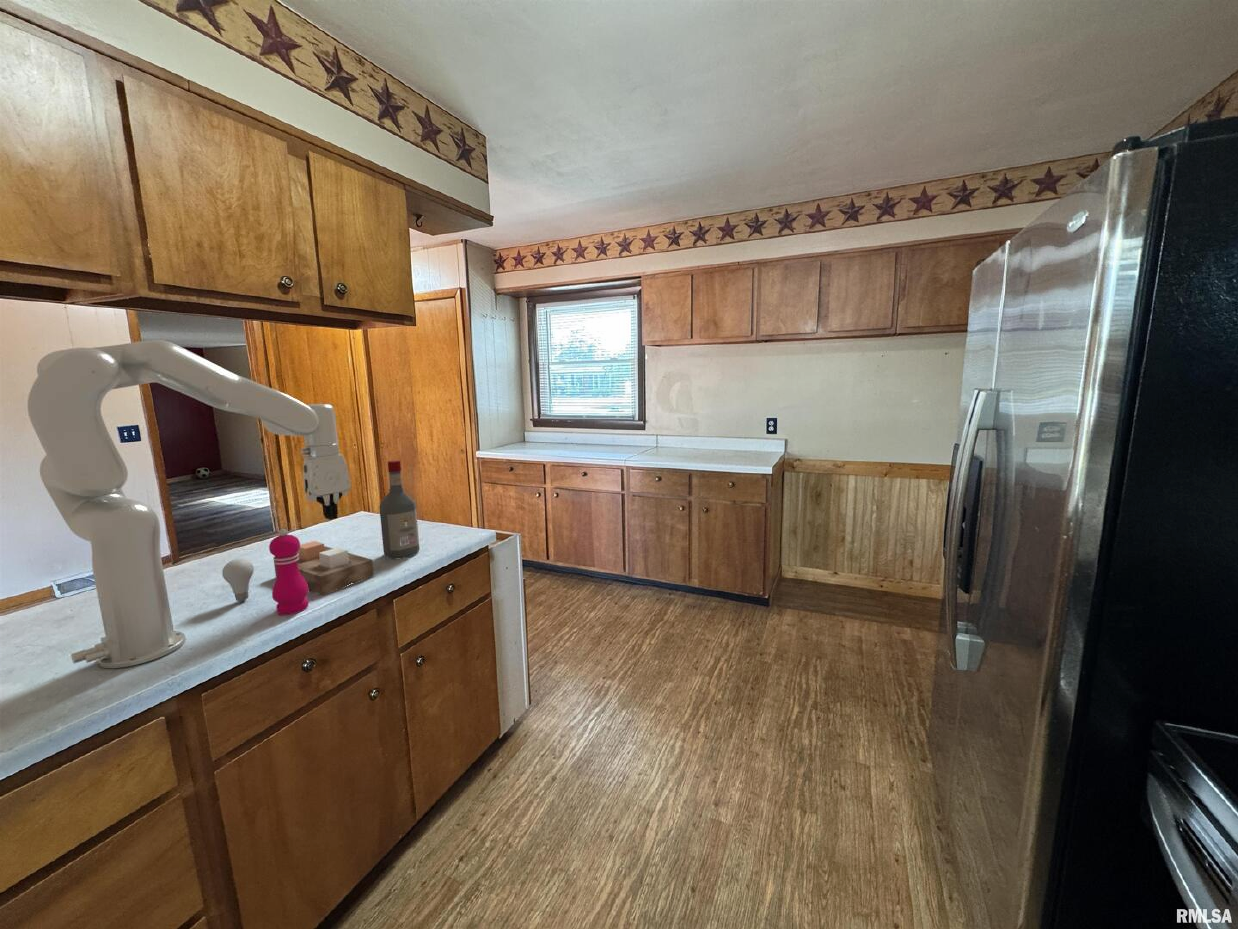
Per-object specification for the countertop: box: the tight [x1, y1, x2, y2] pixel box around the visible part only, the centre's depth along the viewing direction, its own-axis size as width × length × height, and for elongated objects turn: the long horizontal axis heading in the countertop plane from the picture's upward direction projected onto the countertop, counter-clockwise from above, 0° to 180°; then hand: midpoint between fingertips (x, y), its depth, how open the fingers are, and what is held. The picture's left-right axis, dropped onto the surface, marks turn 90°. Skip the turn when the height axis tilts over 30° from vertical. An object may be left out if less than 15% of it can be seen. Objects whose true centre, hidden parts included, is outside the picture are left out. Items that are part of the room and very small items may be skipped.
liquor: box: [378, 460, 421, 559], centre depth 152 cm, size 9×9×30 cm
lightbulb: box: [221, 558, 254, 603], centre depth 120 cm, size 6×6×11 cm
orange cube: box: [297, 540, 325, 561], centre depth 138 cm, size 5×5×5 cm
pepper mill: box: [268, 528, 310, 616], centre depth 114 cm, size 7×7×20 cm
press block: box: [273, 545, 375, 596], centre depth 135 cm, size 14×24×5 cm, turn 59°
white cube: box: [319, 547, 349, 569], centre depth 132 cm, size 5×5×5 cm
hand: (331, 518), depth 130 cm, fingers closed
